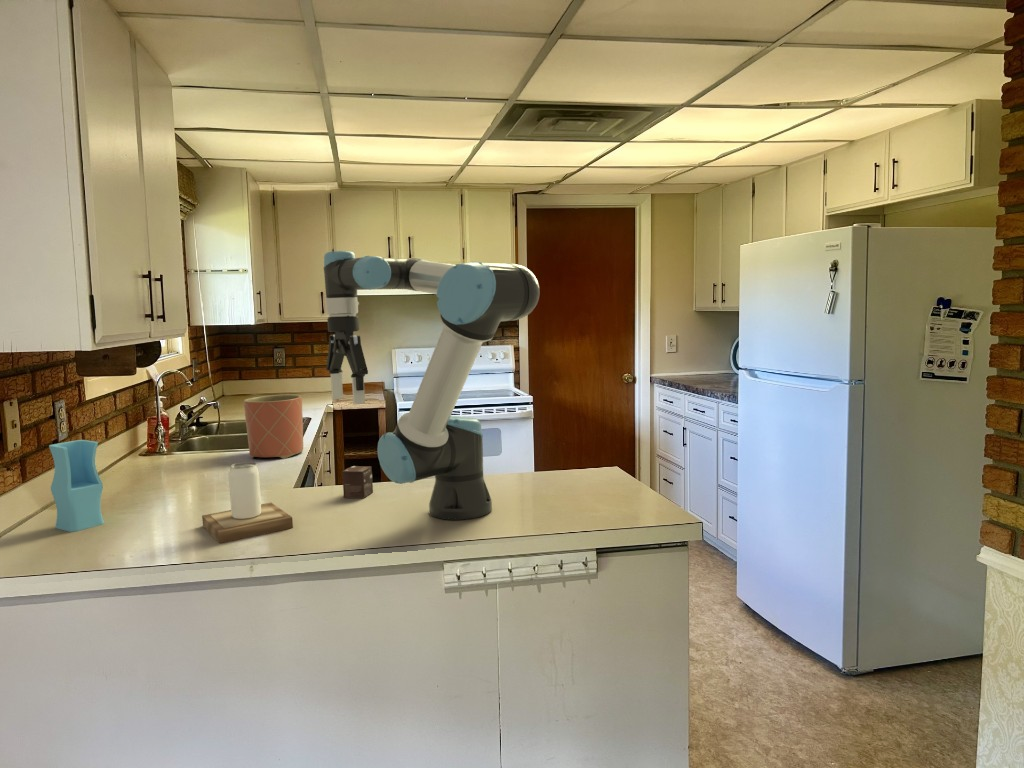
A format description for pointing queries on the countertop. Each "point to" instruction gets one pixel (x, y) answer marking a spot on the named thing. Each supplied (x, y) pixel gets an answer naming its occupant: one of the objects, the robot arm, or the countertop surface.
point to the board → (246, 523)
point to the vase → (76, 485)
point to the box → (357, 482)
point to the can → (244, 490)
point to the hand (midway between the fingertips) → (348, 401)
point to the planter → (274, 425)
